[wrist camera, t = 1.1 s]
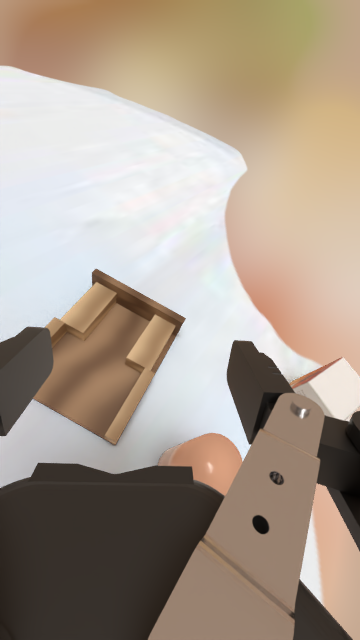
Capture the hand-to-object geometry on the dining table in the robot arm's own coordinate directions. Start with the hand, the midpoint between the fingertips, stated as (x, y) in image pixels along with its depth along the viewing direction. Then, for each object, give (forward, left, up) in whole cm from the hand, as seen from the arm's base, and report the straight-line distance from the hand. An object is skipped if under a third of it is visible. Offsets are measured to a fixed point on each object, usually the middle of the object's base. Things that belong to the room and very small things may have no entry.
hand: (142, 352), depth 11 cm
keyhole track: (-7, +8, -24) cm, 26 cm away
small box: (+21, +15, -24) cm, 35 cm away
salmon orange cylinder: (+9, 0, -24) cm, 25 cm away
